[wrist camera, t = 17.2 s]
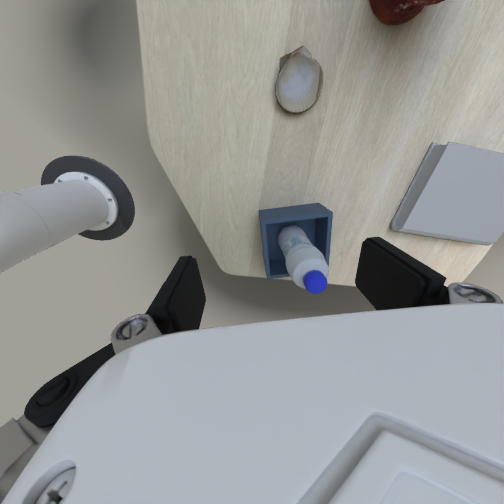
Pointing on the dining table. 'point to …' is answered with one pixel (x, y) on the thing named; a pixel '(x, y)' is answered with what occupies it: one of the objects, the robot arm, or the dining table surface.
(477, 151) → the book
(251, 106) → the dining table surface
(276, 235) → the bin
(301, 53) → the seashell
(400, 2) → the lantern
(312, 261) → the bottle
